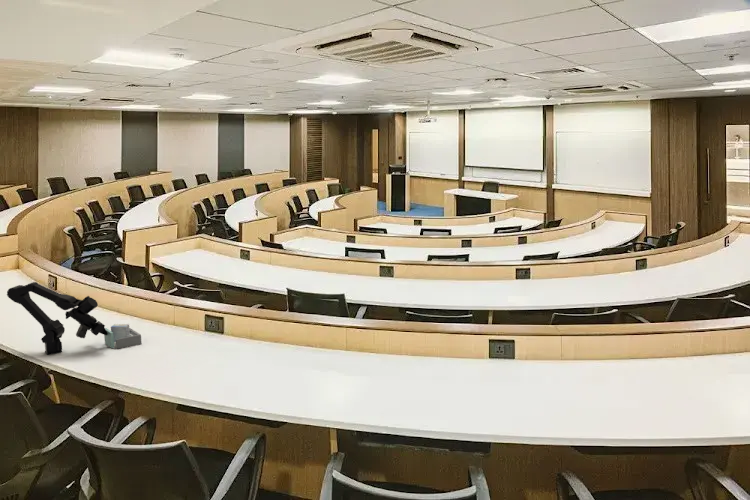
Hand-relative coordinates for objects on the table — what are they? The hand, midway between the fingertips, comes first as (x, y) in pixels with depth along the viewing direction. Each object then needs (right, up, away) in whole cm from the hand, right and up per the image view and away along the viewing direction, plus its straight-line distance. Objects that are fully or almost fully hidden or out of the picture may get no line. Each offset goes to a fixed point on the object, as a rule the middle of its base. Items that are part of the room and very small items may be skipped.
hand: (107, 334), depth 284 cm
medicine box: (+5, -4, +6) cm, 9 cm away
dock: (+6, -5, +7) cm, 10 cm away
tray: (+5, -5, +6) cm, 9 cm away
